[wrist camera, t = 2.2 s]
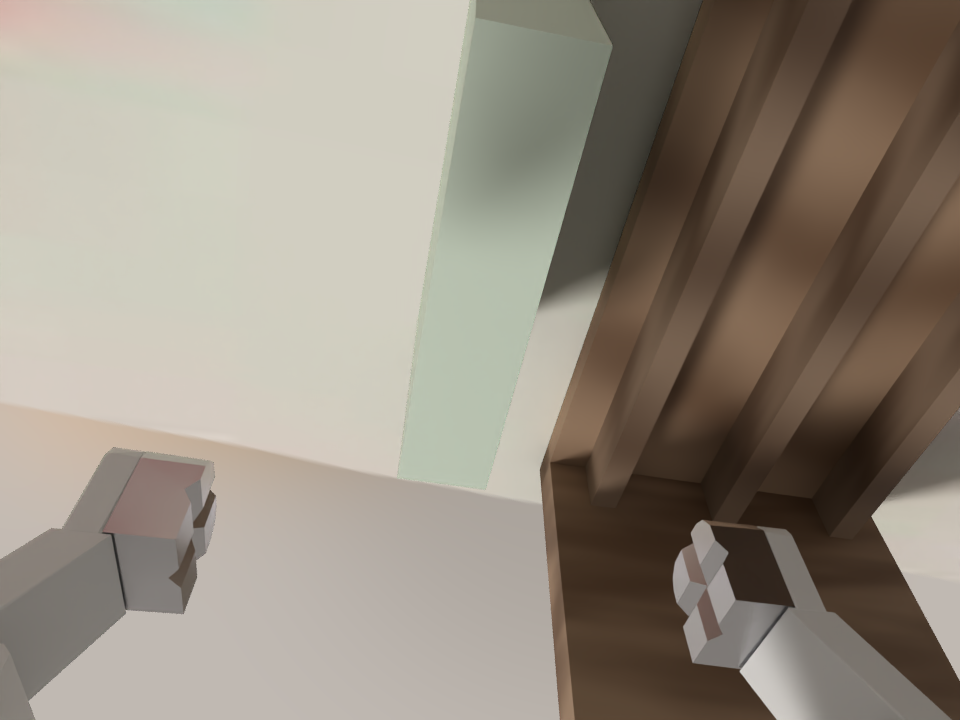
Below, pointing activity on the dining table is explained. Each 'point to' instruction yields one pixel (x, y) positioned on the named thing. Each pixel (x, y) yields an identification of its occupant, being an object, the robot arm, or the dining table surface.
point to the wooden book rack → (764, 346)
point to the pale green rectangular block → (497, 224)
